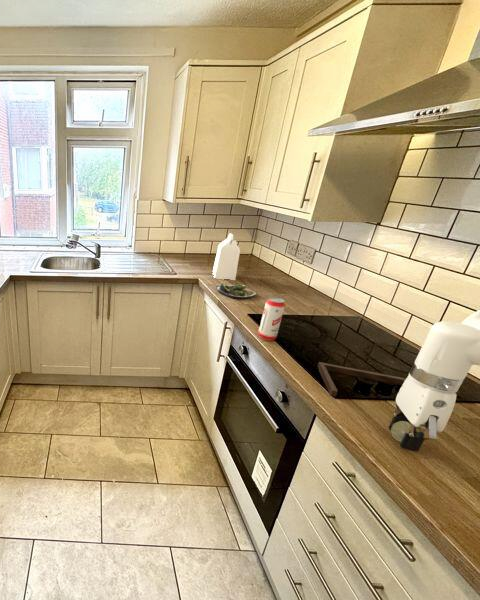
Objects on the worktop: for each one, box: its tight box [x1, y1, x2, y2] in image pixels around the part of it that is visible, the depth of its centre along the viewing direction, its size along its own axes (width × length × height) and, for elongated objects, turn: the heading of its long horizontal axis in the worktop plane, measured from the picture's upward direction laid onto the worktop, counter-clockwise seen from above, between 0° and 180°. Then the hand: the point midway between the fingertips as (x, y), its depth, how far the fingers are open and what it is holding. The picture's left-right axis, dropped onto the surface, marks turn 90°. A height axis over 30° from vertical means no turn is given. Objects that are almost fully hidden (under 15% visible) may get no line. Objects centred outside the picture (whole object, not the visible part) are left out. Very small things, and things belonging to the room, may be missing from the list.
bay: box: [316, 361, 407, 398], centre depth 93 cm, size 22×16×2 cm
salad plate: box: [214, 283, 257, 300], centre depth 167 cm, size 19×18×5 cm
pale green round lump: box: [390, 421, 420, 443], centre depth 75 cm, size 4×5×5 cm
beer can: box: [257, 296, 286, 342], centre depth 119 cm, size 6×6×16 cm
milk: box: [212, 233, 241, 281], centre depth 189 cm, size 12×12×26 cm
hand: (402, 438), depth 76 cm, fingers closed on pale green round lump, 5 cm apart
